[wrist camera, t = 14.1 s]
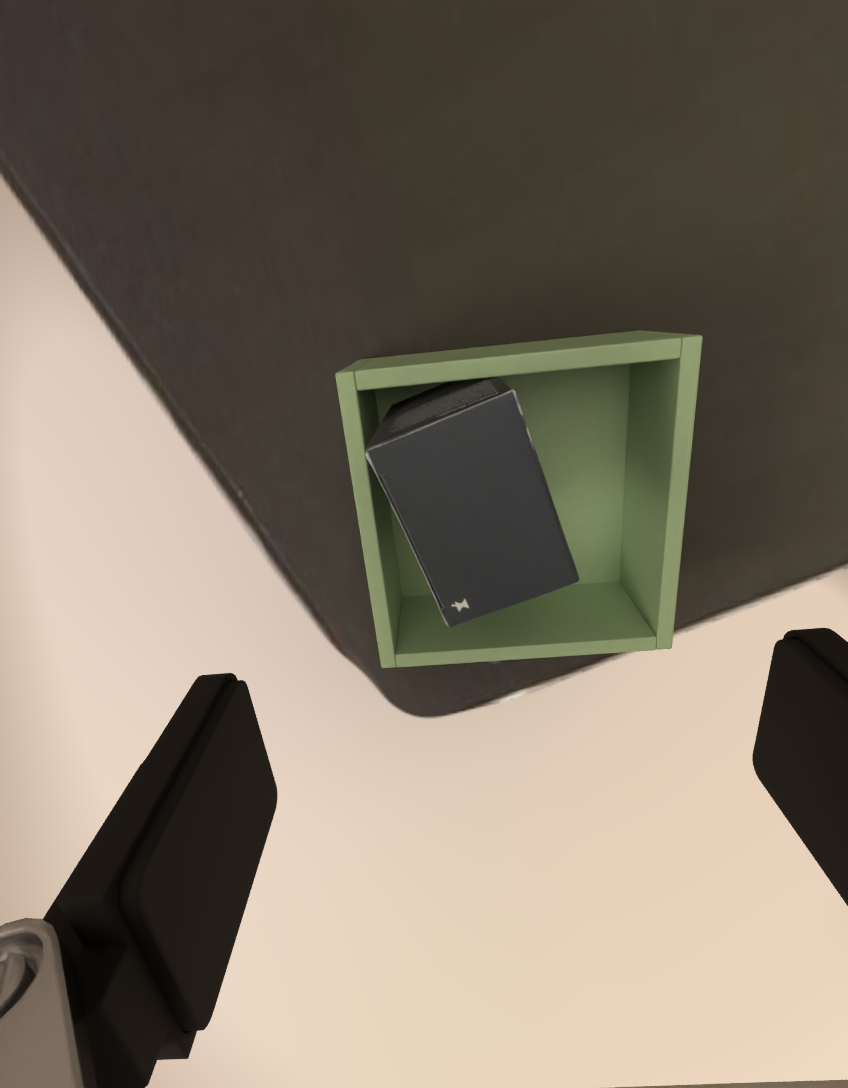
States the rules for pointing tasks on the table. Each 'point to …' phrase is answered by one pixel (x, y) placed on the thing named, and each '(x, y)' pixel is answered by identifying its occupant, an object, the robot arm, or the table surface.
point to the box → (472, 498)
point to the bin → (575, 486)
